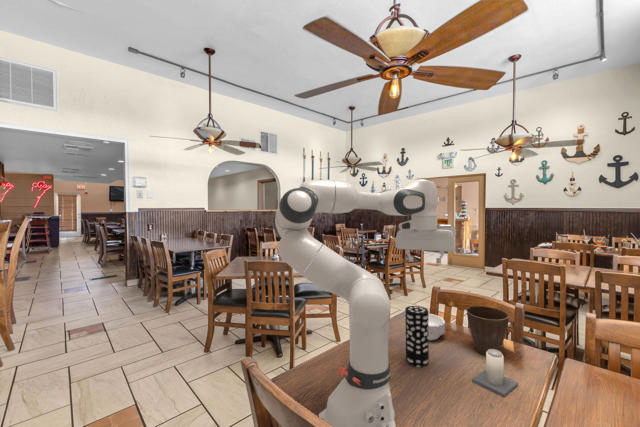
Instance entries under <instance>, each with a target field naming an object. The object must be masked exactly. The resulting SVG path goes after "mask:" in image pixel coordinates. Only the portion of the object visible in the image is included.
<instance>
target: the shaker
mask: <svg viewBox="0 0 640 427" xmlns="http://www.w3.org/2000/svg"><path fill="white" fill-rule="evenodd" d="M504 360H505V359H504V354H503V353H502V352H501V351H500V350H496V349H488V351H487V352H486V355H485V367H486V368H485V370H486V380H487V381H488V382H489V383H491V384H494V385H503V384H504V377H505V376H504V374H505V373H504V372H505V369H504V368H505V367H504Z"/></svg>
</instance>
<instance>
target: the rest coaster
mask: <svg viewBox="0 0 640 427" xmlns="http://www.w3.org/2000/svg"><path fill="white" fill-rule="evenodd" d="M471 382H472V383H474V384H475V385H478V386H480V387H482V388H484V389H486V390H488V391H490V392H493V393H494V394H496V395H499V396H500V397H502V398H505V397H507V396H508V395H509V394H510V393H511V392H512V391H514V390H515V389H516V388H517V387H518V386H519V382H517V381H515V380H513V379H510V378H508V377H506V376H504V384H503V385H494V384H491V383H489V382H488V381H487V380H486V369H484V370H483V371H482V372H480V373H478V374H477V375H476V376H474V377H473V378H471Z"/></svg>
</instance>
